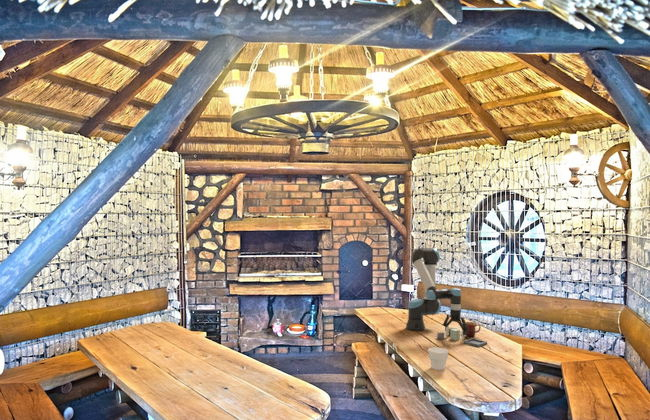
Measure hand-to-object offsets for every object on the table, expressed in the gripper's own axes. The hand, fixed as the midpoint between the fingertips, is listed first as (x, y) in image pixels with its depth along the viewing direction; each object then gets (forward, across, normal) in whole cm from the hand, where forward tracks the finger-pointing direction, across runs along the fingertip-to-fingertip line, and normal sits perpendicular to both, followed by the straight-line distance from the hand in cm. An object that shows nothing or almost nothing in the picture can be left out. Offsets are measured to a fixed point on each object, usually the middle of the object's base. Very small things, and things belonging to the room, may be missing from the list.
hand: (455, 337), depth 389 cm
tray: (+1, +17, 0) cm, 17 cm away
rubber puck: (+1, -8, -7) cm, 11 cm away
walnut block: (+1, -8, +9) cm, 12 cm away
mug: (+2, +5, +16) cm, 17 cm away
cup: (+2, +30, -66) cm, 73 cm away
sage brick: (+1, 0, 0) cm, 1 cm away
